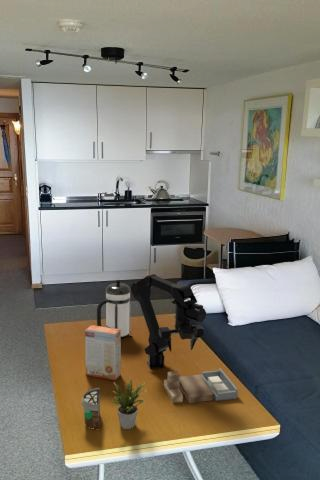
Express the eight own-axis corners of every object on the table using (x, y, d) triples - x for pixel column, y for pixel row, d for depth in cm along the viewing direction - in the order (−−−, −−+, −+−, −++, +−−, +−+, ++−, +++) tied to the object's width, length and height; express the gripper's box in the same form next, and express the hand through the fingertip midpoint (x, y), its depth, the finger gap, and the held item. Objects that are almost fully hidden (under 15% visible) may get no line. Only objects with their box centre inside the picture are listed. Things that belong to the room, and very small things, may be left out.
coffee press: (105, 329, 244) (105, 274, 239) (134, 331, 242) (135, 276, 237) (96, 342, 228) (96, 284, 222) (128, 344, 226) (128, 286, 220)
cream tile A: (217, 394, 180) (217, 390, 180) (213, 389, 185) (213, 384, 184) (227, 393, 181) (228, 389, 181) (223, 387, 186) (223, 383, 185)
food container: (83, 412, 167) (82, 387, 165) (100, 411, 168) (99, 386, 166) (80, 432, 155) (79, 406, 153) (98, 432, 156) (98, 405, 154)
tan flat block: (189, 403, 175) (189, 397, 174) (177, 382, 190) (177, 377, 190) (213, 400, 177) (213, 394, 177) (199, 380, 193) (200, 374, 192)
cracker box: (121, 374, 196) (121, 328, 192) (115, 381, 190) (115, 334, 186) (91, 369, 200) (91, 324, 196) (85, 375, 194) (84, 329, 190)
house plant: (154, 436, 154) (155, 391, 151) (114, 442, 150) (114, 397, 147) (143, 412, 168) (144, 371, 165) (106, 418, 164) (106, 376, 161)
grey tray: (215, 401, 177) (216, 391, 176) (200, 378, 194) (200, 370, 193) (237, 398, 179) (237, 389, 178) (219, 376, 196) (220, 367, 195)
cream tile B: (211, 386, 186) (211, 382, 186) (207, 381, 191) (207, 377, 190) (221, 385, 187) (222, 381, 187) (217, 380, 192) (218, 376, 191)
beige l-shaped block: (172, 403, 175) (173, 381, 173) (163, 386, 187) (164, 366, 185) (182, 402, 176) (183, 380, 174) (173, 385, 188) (173, 365, 186)
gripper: (165, 324, 180) (164, 361, 183) (210, 321, 184) (208, 357, 187) (158, 314, 190) (157, 349, 194) (201, 311, 195) (199, 345, 198)
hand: (180, 350), depth 193 cm, fingers open, 9 cm apart
